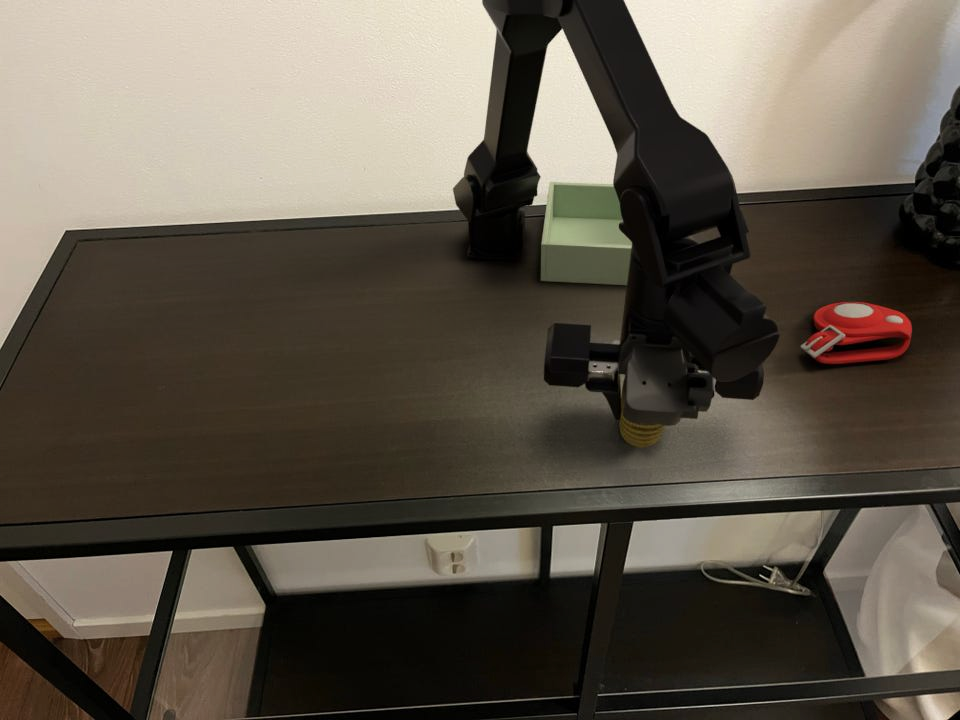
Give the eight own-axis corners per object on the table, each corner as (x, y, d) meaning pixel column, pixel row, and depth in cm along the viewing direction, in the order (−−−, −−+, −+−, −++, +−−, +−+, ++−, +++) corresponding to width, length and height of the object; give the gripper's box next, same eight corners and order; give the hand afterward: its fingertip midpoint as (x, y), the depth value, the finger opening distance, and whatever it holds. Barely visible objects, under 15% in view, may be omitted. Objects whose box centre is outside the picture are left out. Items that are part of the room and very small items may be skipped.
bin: (540, 281, 91) (541, 244, 87) (548, 217, 100) (549, 181, 96) (650, 286, 89) (656, 249, 85) (648, 221, 98) (653, 185, 94)
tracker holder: (816, 290, 86) (916, 296, 81) (814, 324, 88) (911, 332, 83) (798, 337, 77) (909, 347, 72) (796, 374, 79) (904, 386, 74)
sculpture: (619, 399, 77) (626, 345, 71) (659, 403, 77) (669, 348, 71) (616, 461, 72) (623, 408, 66) (658, 466, 71) (670, 412, 65)
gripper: (539, 360, 57) (537, 478, 68) (792, 378, 55) (748, 497, 66) (550, 269, 65) (547, 388, 76) (773, 280, 62) (736, 402, 74)
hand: (640, 418), depth 73 cm, fingers closed on sculpture, 4 cm apart
